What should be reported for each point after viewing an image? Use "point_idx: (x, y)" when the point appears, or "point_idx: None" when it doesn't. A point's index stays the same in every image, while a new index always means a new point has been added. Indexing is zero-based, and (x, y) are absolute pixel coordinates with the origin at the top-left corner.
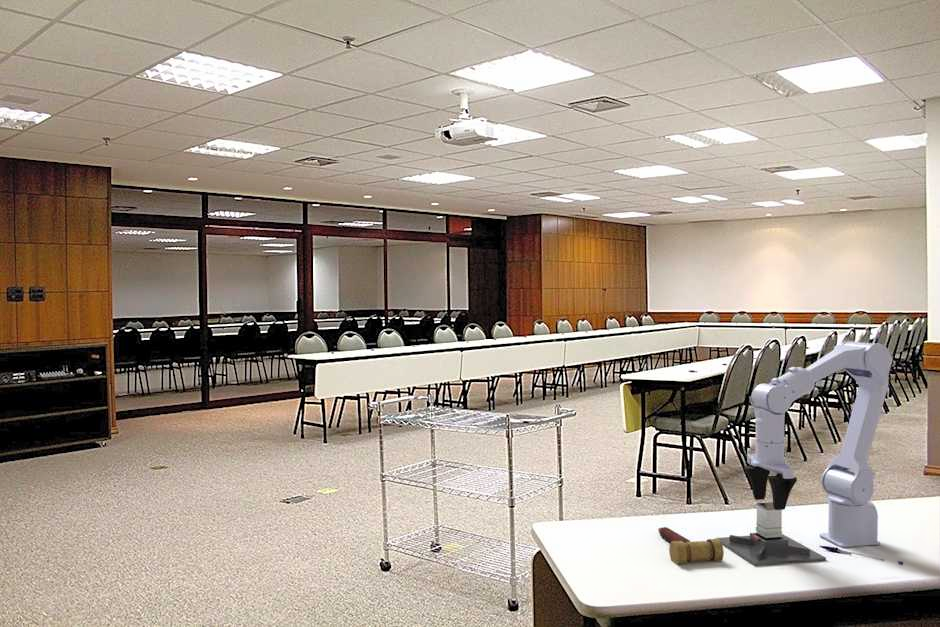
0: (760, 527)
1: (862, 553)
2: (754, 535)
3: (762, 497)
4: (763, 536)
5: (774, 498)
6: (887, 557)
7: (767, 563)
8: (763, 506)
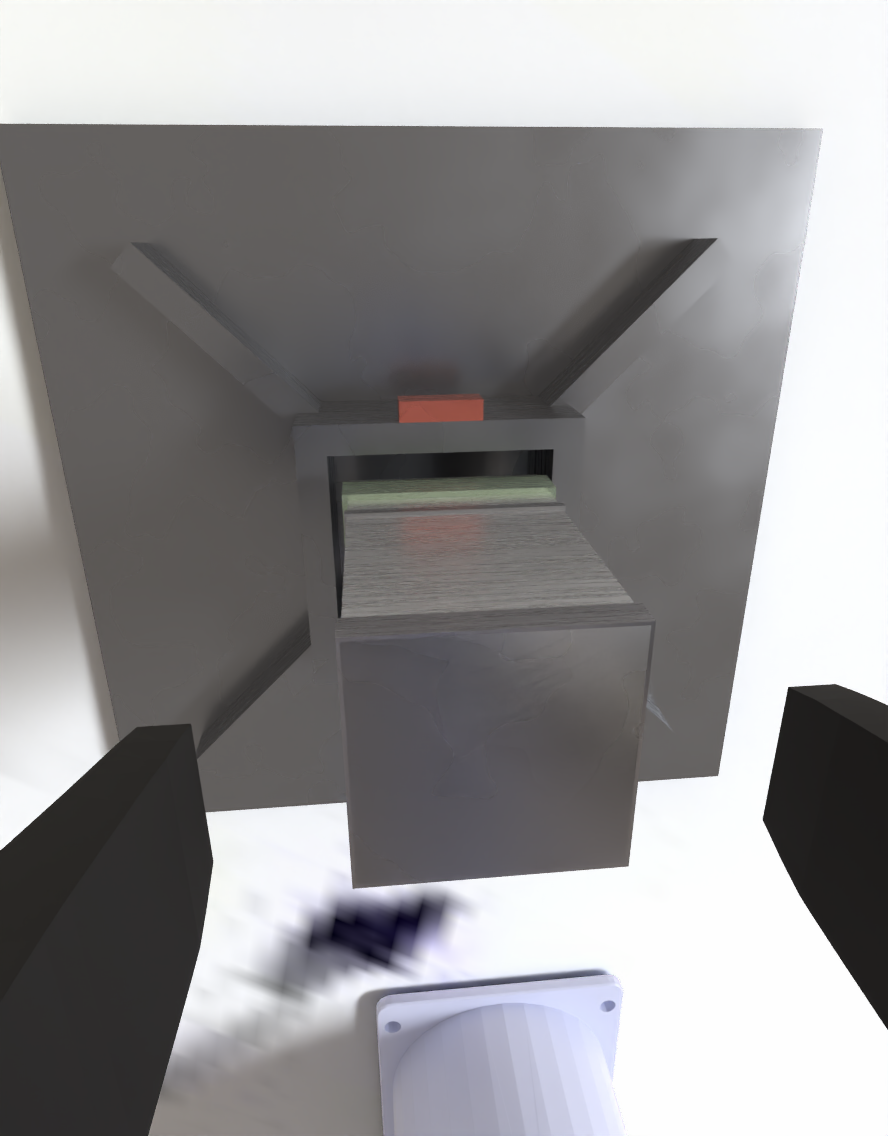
0: (470, 503)
1: (266, 1045)
2: (499, 425)
3: (788, 814)
4: (398, 479)
5: (8, 855)
6: (181, 1123)
7: (31, 285)
8: (435, 639)
